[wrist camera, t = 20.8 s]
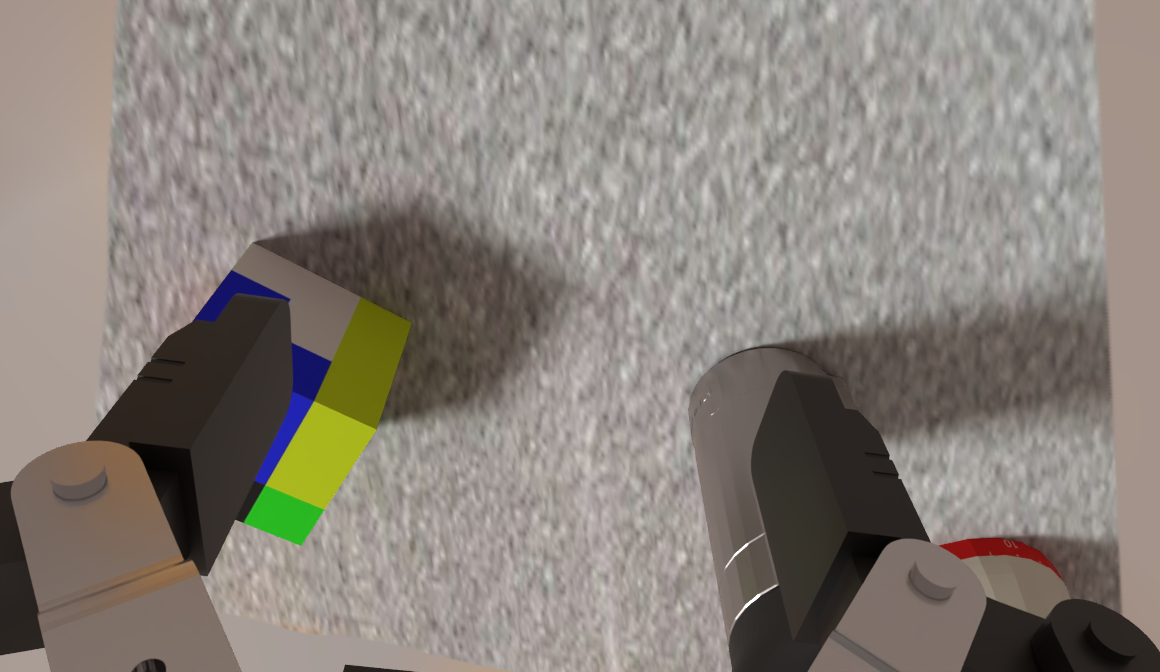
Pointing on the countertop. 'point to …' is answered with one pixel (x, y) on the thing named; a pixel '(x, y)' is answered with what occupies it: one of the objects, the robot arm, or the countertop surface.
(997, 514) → the countertop surface
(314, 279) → the puzzle toy
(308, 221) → the countertop surface
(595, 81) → the countertop surface
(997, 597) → the kitchen timer
